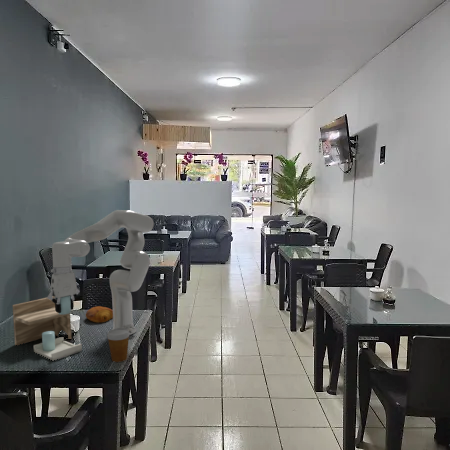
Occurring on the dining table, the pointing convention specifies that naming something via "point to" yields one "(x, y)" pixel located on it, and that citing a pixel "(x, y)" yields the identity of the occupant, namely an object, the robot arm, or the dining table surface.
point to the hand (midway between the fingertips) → (64, 310)
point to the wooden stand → (38, 320)
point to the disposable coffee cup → (118, 344)
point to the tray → (55, 347)
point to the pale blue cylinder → (65, 305)
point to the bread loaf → (99, 314)
